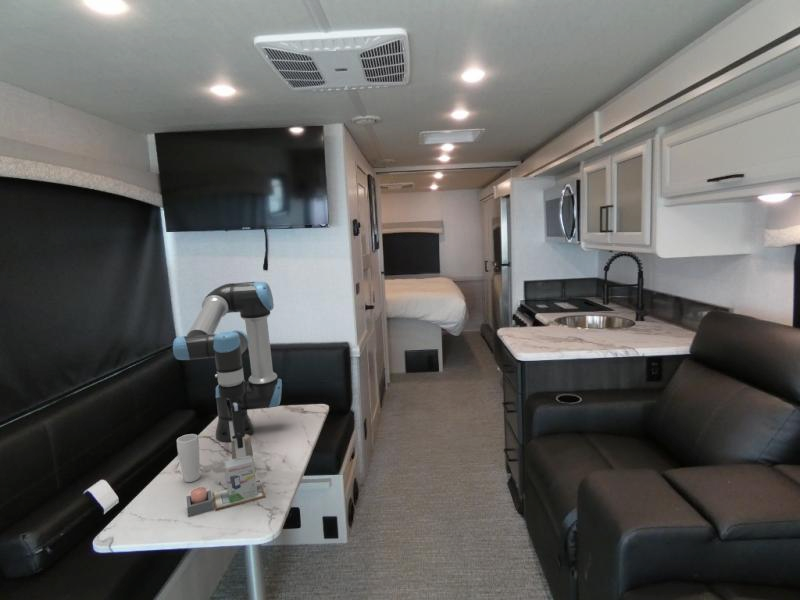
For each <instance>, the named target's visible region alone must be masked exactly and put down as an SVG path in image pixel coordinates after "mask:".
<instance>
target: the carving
mask: <svg viewBox="0 0 800 600" xmlns="http://www.w3.org/2000/svg"><path fill="white" fill-rule="evenodd" d="M244 442H245V451H246V456H252V457H253V458H254V453H253V447H252V439H251V435H250V436H249V435H247V434H245V436H244ZM230 446H231V447H230V448H231V449H230V450H231V460H232V459H237V458H236V450H235V441H231V444H230Z"/></svg>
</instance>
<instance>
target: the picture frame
mask: <svg viewBox="0 0 800 600" xmlns="http://www.w3.org/2000/svg"><path fill="white" fill-rule="evenodd" d="M256 485H257V493H258V495H255V496H252V497H248V498H245V499H242V500H238V501H235V502H231V503H230V501H229V498H228V492H227V488H226V489H222V490H217V491H213V492H211V495H212V501H213V504H214V505H213V507H214V510H215V512H219V511H221V510H224V509H228V508H231V507H235V506H238V505H239V506H240V505H243V504H246V503H250V502H253V501H257V500H261V499H264V498H267V496H266V493H265V490H264V487H263V484H262V482H261V480H260V479H259V480H256Z"/></svg>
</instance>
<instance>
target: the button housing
mask: <svg viewBox="0 0 800 600" xmlns="http://www.w3.org/2000/svg"><path fill="white" fill-rule="evenodd" d="M206 493H207V501H204V502H200V503H196V504H193V505H192V501H191V494H190V495H187V496H186V509H187V510H186V511H187V516H188V518H190V517H193V516H197V515H201V514H205V513H207V512H211V511H214V505H213V504H214V501H213V495H212V491H211V490H206Z"/></svg>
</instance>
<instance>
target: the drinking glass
mask: <svg viewBox="0 0 800 600" xmlns="http://www.w3.org/2000/svg"><path fill="white" fill-rule="evenodd" d="M176 449H177V456H178V458H179V463H180V468H181V472H182V479H183V481H184V483H193V482H195V481H197V480H199V478H201V471H200V464H201V463H200V441H199V437H198V434H195V433H189V434H184V435H182V436H180V437H178V438H177V439H176Z"/></svg>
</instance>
